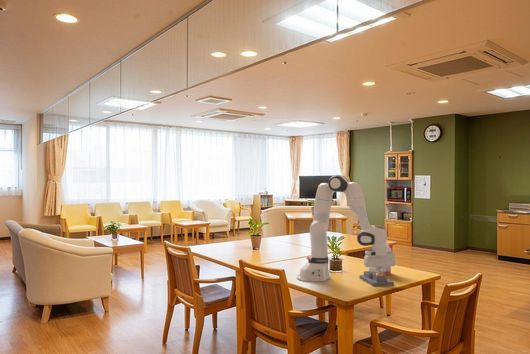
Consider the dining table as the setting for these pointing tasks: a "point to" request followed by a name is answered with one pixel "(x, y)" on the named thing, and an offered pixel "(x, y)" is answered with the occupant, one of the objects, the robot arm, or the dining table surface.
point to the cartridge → (372, 270)
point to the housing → (376, 279)
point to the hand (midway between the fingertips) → (379, 273)
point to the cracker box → (387, 268)
